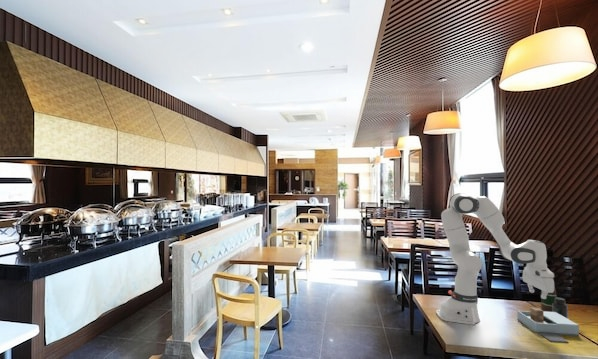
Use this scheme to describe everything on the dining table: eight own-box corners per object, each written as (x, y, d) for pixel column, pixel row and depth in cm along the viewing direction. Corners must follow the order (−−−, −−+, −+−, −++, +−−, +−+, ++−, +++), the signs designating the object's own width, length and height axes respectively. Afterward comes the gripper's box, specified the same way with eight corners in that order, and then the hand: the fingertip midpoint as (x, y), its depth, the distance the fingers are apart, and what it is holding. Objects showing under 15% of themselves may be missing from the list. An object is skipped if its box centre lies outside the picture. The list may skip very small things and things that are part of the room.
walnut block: (535, 321, 160) (535, 310, 160) (530, 318, 164) (530, 307, 164) (543, 322, 159) (543, 310, 160) (538, 318, 163) (538, 307, 163)
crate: (536, 333, 154) (536, 322, 154) (517, 319, 170) (517, 309, 170) (578, 335, 152) (578, 324, 152) (555, 322, 168) (555, 312, 168)
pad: (550, 341, 146) (550, 340, 146) (539, 333, 154) (539, 332, 154) (568, 342, 145) (568, 341, 145) (555, 334, 153) (555, 333, 153)
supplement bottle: (571, 322, 167) (570, 301, 167) (557, 321, 168) (556, 300, 169) (562, 317, 174) (562, 297, 174) (549, 316, 175) (549, 295, 175)
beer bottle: (553, 314, 177) (553, 274, 178) (538, 310, 184) (537, 271, 185) (559, 312, 181) (559, 272, 182) (544, 307, 188) (544, 269, 189)
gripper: (518, 264, 173) (519, 288, 173) (543, 274, 153) (544, 302, 152) (530, 265, 172) (531, 289, 172) (556, 275, 152) (557, 302, 152)
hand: (537, 295), depth 162 cm, fingers open, 8 cm apart
